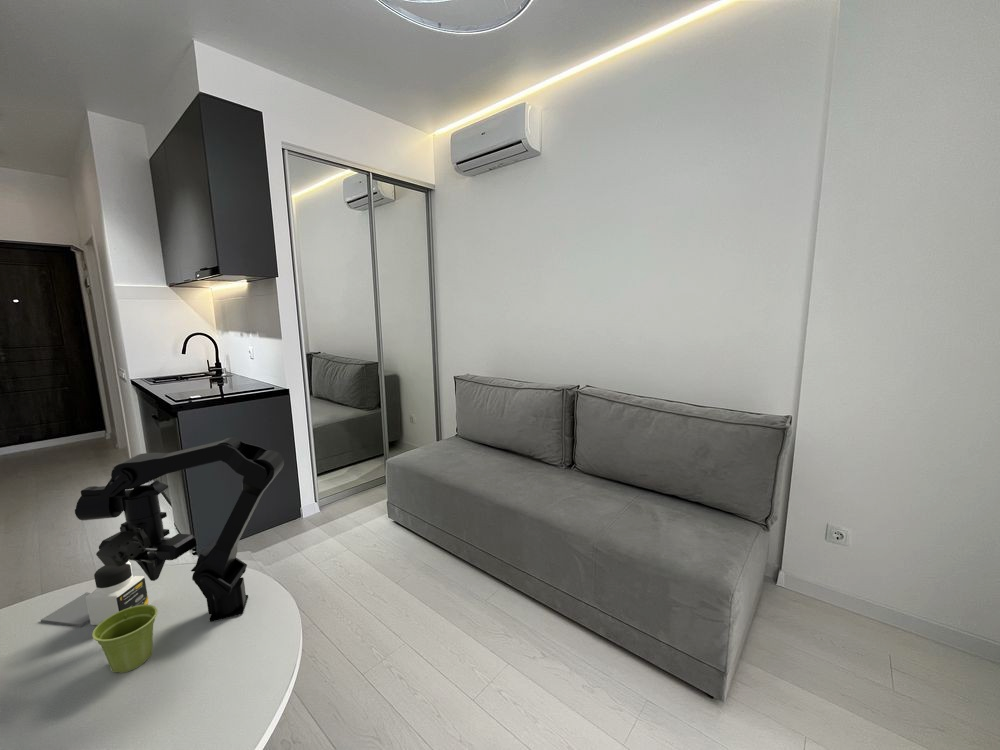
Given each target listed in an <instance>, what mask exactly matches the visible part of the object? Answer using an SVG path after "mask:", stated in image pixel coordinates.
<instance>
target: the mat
mask: <svg viewBox="0 0 1000 750" xmlns="http://www.w3.org/2000/svg"><path fill="white" fill-rule="evenodd" d="M90 593H91V592H85V593H84V594H83V593H82V594H81V595H80V596H78V597H76V598H75V599H72V601H70V602H68V603H67V604H64V605H63V606H62V607H60V608H58V609H57V610H55V611H52V612H51V613H49V614H48V615H46V616H44V617H43V618H41V619H40V622H41V623H49V624H57V625H64V626H65V625H66V626H74V627H81V628H82V627H83V626H86V625H87V624H89V622H90V617H89V612H88V607H87V602H86V596H87V595H89V594H90ZM90 623H91V622H90Z"/></svg>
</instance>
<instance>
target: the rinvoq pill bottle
mask: <svg viewBox="0 0 1000 750" xmlns="http://www.w3.org/2000/svg"><path fill="white" fill-rule="evenodd" d="M93 577H94V580H95V581H94V582H95V587H96V589H94V590H93V591H92V592H89V593H90V594H89V595H87V596H86V602H87V607H88V612H89V617H90V625H91V626H98V625H99V624H100V623H101V622H102V621H104V620H105V619H107V618H108V617H110V616H111V615H113V614H115V613H117V612H119V611H122V610H124V609H127V608H130V607H134V606H138V605H149V595H148V590H147V584H146V579H145V576H144V575H133V568H132V564H131V562H130V561H129V560H128V562H127V563H126V564H124V565H123V566H120V567H116V566H111V565H108V566H105V565H102V566H101V567H100V568H98V569H97V570H96V571H95V573H94V574H93Z"/></svg>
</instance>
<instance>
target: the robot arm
mask: <svg viewBox="0 0 1000 750" xmlns="http://www.w3.org/2000/svg"><path fill="white" fill-rule="evenodd" d="M216 462H223V463H225V464H227V466H229V467H230V468H231V469H232V470H233V471H234V472H235V473H236V474H238V475H240V476H243V478H242V481H241V493H240V495H239V496H238V499H237V501H236V503H235V505H234V507H233V509H231V512H230V515H229V517H228V519H227V520H226V523H225V525H224V527H223V529H222V531H221V533H220V535H219V537H218V538H217V541H216V540H211V541H210V543H209V544H208V545H207V546H206V547H205V548H204V549H203V550H202V552H201V553H200V554H199V555H198V558H197V561H196V564H195V565H194V567H192V569H190V572H193V573H192V577H191V578H192V581H193V582H194V583H195V585H197V586H198V588H199V590H200V592H201V593H202V594H203V596H204V598H205V599H206V604H207V605H206V606H207V612H208V615H209V616H210V617H209V621H208V622H210V623H212V622H216V621H221V620H225V619H229V618H232V617H237V616H240V615H241V616H242V615H243V614H244V613H245V608H246V605H247V602H248V599H249V595H248V594H246V588H245V587H246V585H245V578H244V577H242V576H243V575H244V574H245V572H246V570H247V566H248V564H247V563H245V562H244V561H243V560H241V559H239V558H238V557H237V555H238V545H239V541H240V539H241V537H242V536H243V535H244V534H243V533H244V531H245V530H246V527H247V526H248V523H249V521H250V519H251V518H252V516H253V514H254V511H255V510H256V508H257V506H258V505H259V502H260V500H261V498H262V496H263V494H264V492H265V491H266V490H267V488H269V485H270V484H271V483H272V482H273V481H274V479H275V478H276V477H277V475H279V473H280V472H281V471H282V470H283V467H284V465H285V459H284V458H283V456H282V455H281V453H280V452H278V451H275V450H271V449H270V450H269V449H267V448H265V447H263V446H260V445H258V444H257V445H256V444H252V443H249V442H245V441H243V440H241V439H239V438H236V437H227V438H225V439H223V440H219V441H218V440H217V441H214V442H210V443H206V444H202V445H198V446H193V447H189V448H186V449H185V448H184V449H181V450H177V451H173V452H147V453H139V454H137V455H135V456H132V457H130V458H128V459H126V460H124V461H123V462H120V463H118V464H116V465H115V466H114V467H112V468H113V469H112V471H111V473H110V476H111V478H110V479H109V481H108V482H107V484H106V485H104V486H96V485H94V486H93V485H92V486H87V487H85V488H83V489H82V490H80V496H79V499H78V500H77V502H76V504H75V509H74V514H75V516H76V518H77V520H80V521H91V520H92V521H93V520H102V519H103V520H104V519H112V518H115V519H116V518H117V517H119V516H120V515H122V513H123V512H124V518H125V522H122V523H121V524H120V526H119V531H118V532H117V533H114V534H113V535H111V536H109V537H107V538H105V539H103V540H101V543H100V544H99V545H98V549H99V550H98V551H97V552H96V554H95V555H96V556H97V558H98V560H100V561H101V563H102V564H103V566H108V565H111V566H116V567H120V566H123V565H124V564H126V563H127V562H128V561H129V560H130V561H134V562H136V563H137V564H138V566H139V567H140V568H141V569H142V570H143V572H144V573H145V575H146V576H147V578H148V579H149V581H153V582H155V581H156V580H159V578H160V576H161V573H162V571H163V568H164V565H165V563H166V561H174V560H177V559H178V558H179V557H181V556H183V555H184V554H186V553H188V552H189V551H190V550H192V549H194V548H195V547H197V546H198V543H197V542H198V541H197V537H196V535H193V534H191V533H190V534H189V533H177V534H175V535H174V536H172V537H167V536H168V535H170V532H171V531H170V528H169V529H168V528H164V523H163V519H165V518H167V511H166V512H165V511H162V510H161V505H160V499H159V495H160V494H162V492H164V491H166V490H168V488H169V485H168V484H166V483H163V482H161V481H160V480H156V479H158V478H160V477H162V476H164V475H168V474H172V473H176V472H179V471H184V470H187V469H192V468H196V467H200V466H204V465H209V464H213V463H216ZM154 480H155V481H154ZM151 481H153V482H151ZM150 482H151V483H150ZM147 483H150V484H147Z"/></svg>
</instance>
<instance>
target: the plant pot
mask: <svg viewBox="0 0 1000 750" xmlns="http://www.w3.org/2000/svg"><path fill="white" fill-rule="evenodd" d="M157 615H158V609H157V607H156V606H155V605H152V604H147V605H138V606H134V607H130V608H127V609H124V610H122V611H119V612H117V613H115V614H113V615H111V616H110V617H108V618H107V619H105V620H104V621H102V622H101V623H100V624H99V625H96V627H95V628H94V629H93V631H92V633H91V634H92V638H93V640H94V641H96V642H97V643H98V645H100V646H101V649H102V651H103V653H104V655H105V658H106V660H107V662H108V665H109V667H110V670H111V672H113V673H121V674H123V673H127V672H130V671H133V670H134V669H136V668H139V667H140V666H141V665H143V664H144V663H145V662H146V661H147V659H150V658H151V656H152V655H153V644H154V643H153V636H154V623H155V621H156V617H157Z"/></svg>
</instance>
